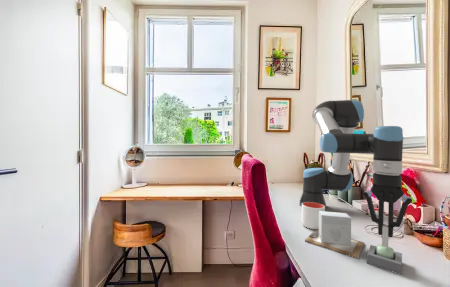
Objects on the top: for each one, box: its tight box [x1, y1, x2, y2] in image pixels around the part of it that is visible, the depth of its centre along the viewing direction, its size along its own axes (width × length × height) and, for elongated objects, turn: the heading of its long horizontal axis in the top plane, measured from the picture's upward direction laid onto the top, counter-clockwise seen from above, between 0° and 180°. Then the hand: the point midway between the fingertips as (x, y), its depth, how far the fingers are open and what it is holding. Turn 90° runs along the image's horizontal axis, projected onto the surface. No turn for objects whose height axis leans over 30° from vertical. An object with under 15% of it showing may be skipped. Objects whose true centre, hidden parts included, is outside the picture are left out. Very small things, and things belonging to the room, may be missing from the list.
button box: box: [366, 244, 403, 275], centre depth 70 cm, size 9×9×3 cm
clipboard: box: [304, 229, 365, 259], centre depth 83 cm, size 18×14×1 cm
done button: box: [376, 244, 394, 260], centre depth 70 cm, size 4×4×3 cm
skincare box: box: [319, 210, 352, 246], centre depth 83 cm, size 10×6×10 cm, turn 76°
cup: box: [300, 202, 326, 230], centre depth 99 cm, size 10×10×10 cm
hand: (385, 245), depth 69 cm, fingers closed
